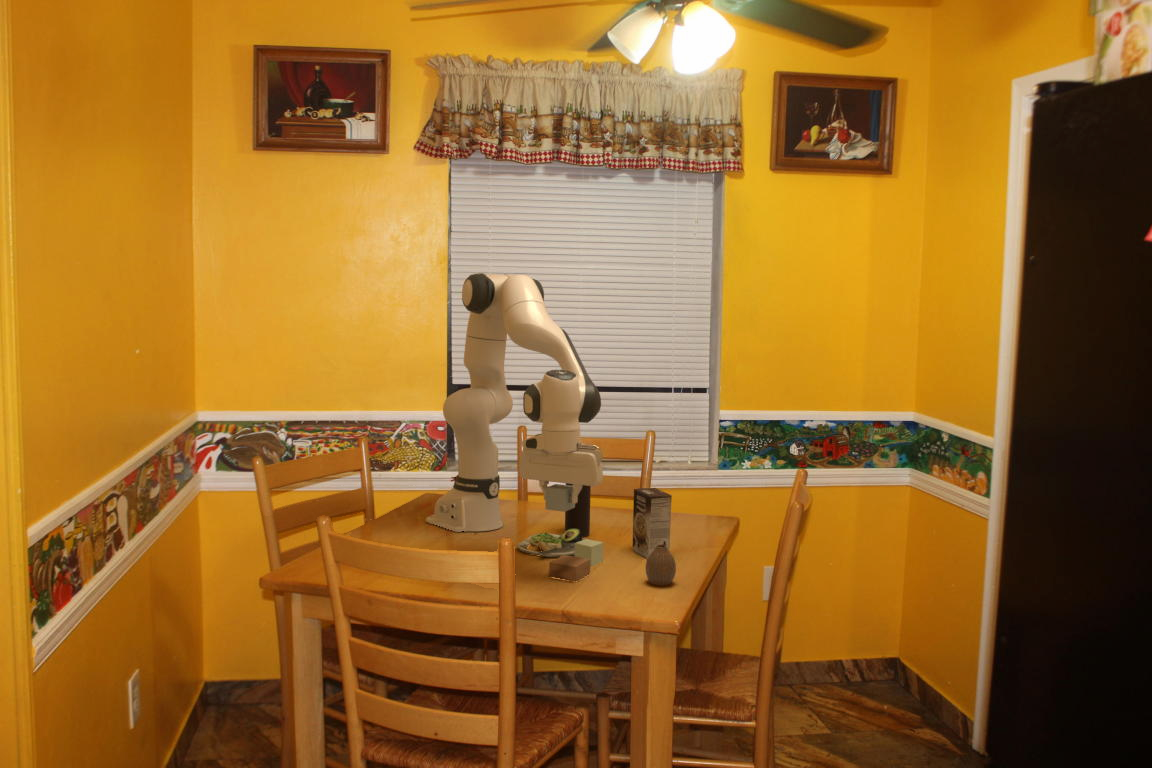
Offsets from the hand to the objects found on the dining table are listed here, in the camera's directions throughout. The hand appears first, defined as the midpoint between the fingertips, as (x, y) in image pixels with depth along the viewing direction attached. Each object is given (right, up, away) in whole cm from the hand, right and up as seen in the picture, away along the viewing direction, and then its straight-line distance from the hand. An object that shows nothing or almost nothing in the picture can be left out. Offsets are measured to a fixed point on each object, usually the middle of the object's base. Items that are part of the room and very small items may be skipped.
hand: (560, 501), depth 214 cm
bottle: (+4, -14, +39) cm, 42 cm away
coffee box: (+22, -16, +22) cm, 35 cm away
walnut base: (+2, -18, +2) cm, 18 cm away
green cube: (+7, -17, +14) cm, 23 cm away
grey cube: (0, -2, 0) cm, 2 cm away
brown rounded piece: (+23, -19, -1) cm, 30 cm away
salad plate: (-2, -16, +26) cm, 31 cm away
